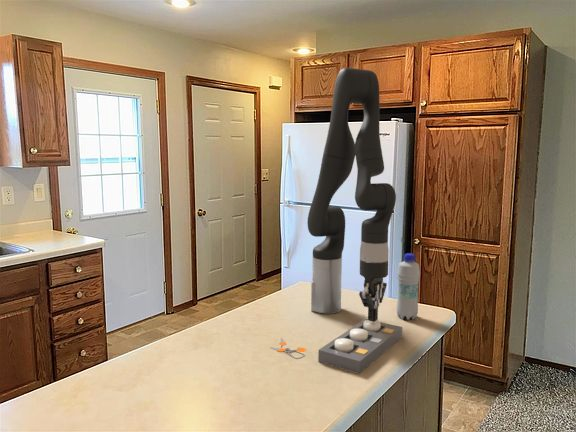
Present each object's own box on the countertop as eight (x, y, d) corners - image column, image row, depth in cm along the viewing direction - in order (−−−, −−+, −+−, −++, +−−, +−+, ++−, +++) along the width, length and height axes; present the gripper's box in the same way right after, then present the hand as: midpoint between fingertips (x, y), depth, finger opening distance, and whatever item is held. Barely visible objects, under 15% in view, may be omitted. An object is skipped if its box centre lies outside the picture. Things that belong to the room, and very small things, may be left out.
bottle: (416, 313, 150) (418, 251, 147) (420, 321, 143) (422, 256, 141) (394, 313, 151) (396, 250, 148) (397, 320, 144) (399, 255, 141)
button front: (348, 355, 115) (348, 347, 114) (331, 350, 117) (331, 342, 117) (356, 348, 118) (356, 341, 118) (340, 344, 121) (340, 336, 121)
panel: (359, 373, 110) (359, 360, 110) (318, 361, 116) (318, 349, 116) (401, 337, 131) (402, 326, 131) (365, 328, 138) (365, 318, 137)
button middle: (362, 344, 121) (362, 336, 121) (346, 340, 124) (346, 332, 123) (370, 338, 125) (370, 331, 125) (354, 334, 127) (354, 327, 127)
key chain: (315, 353, 122) (315, 350, 122) (294, 362, 117) (294, 358, 117) (283, 338, 131) (283, 335, 131) (261, 345, 127) (261, 342, 126)
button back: (376, 334, 128) (376, 327, 127) (360, 330, 130) (360, 323, 130) (383, 329, 131) (383, 322, 131) (367, 325, 134) (367, 318, 134)
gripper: (371, 252, 135) (370, 311, 138) (350, 261, 125) (349, 325, 127) (396, 255, 131) (395, 316, 134) (376, 264, 120) (375, 330, 123)
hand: (372, 320), depth 130 cm, fingers closed
